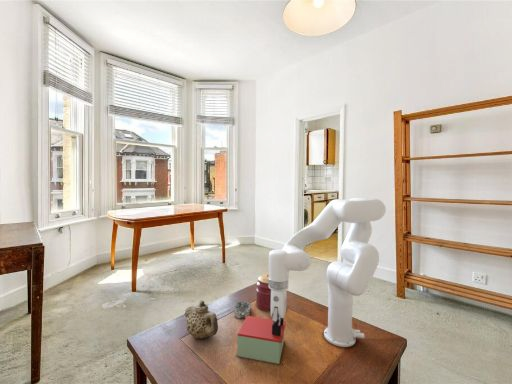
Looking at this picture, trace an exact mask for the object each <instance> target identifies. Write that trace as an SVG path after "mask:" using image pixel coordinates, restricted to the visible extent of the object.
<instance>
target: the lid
mask: <svg viewBox="0 0 512 384" xmlns="http://www.w3.org/2000/svg"><path fill="white" fill-rule="evenodd" d="M277 316H279V314H278V315H277ZM277 320H278V321H279V318H277ZM272 321H273V318H266V317H259V316H253V315H249V316H247V317H246V318H244V321H243V323H242V324H241V326H240V328H239V330H238V332H237V337H238V336H243V337H249V338H255V339H261V340H267V341H272V342H278V343H282V339H283V335H284V336H285V329H286V325H287V321H286V320H283V325H281V336H277V335H272ZM280 322H281V319H280Z"/></svg>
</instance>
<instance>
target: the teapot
mask: <svg viewBox="0 0 512 384" xmlns="http://www.w3.org/2000/svg"><path fill="white" fill-rule="evenodd" d="M184 315H185V318H186V321H185V325H186V326H185V327H186V331H187V332H188V334H189V335H190V336H191V337H192V338H195V339H199V340H201V339H205V338H207V337H214V336H216V335H217V333H218V330H219V322H218V317H217V314H216V313H215V312H214V311H210V310H209V306H208V305H207V303H205V300H203V299H202V300H200V301H199V303H198V304H197V305H196V306H195V305H193V304H190V305H188V306H186V309H185V313H184Z"/></svg>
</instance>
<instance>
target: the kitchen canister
mask: <svg viewBox="0 0 512 384" xmlns="http://www.w3.org/2000/svg"><path fill="white" fill-rule="evenodd" d="M255 301H256V302H255V303H256V306H257V308H258V309H260V310H263V311H266V312H271V289H270V288H269V271H267V272H266V273H263V274H260V276H258V277H257V281H256V300H255Z"/></svg>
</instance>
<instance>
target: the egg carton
mask: <svg viewBox="0 0 512 384" xmlns="http://www.w3.org/2000/svg"><path fill="white" fill-rule="evenodd" d="M250 311H251V303H250V302H247V301H239V300H236V302H235V305H234V312H235V318H237V319H241V318H244V319H246V317H247V316H251V315H250V314H251V313H250Z"/></svg>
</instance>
